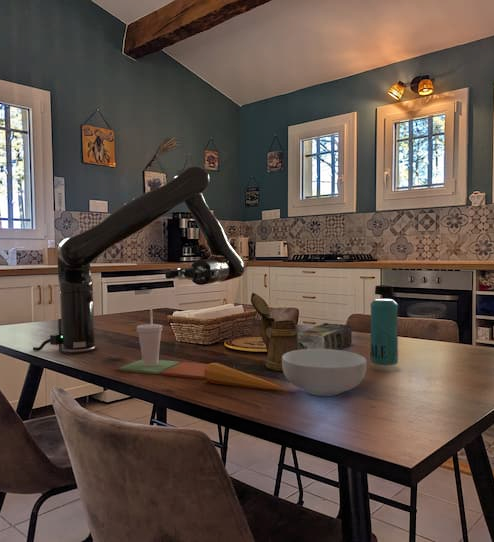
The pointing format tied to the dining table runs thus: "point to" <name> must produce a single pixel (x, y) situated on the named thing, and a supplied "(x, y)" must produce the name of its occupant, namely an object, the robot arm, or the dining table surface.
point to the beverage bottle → (384, 328)
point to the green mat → (149, 367)
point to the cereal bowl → (324, 370)
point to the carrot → (236, 378)
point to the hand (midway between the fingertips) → (180, 274)
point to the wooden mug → (275, 334)
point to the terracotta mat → (187, 370)
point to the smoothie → (150, 342)
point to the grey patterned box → (326, 337)
